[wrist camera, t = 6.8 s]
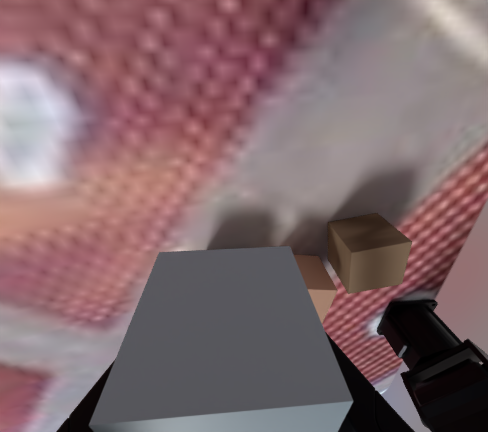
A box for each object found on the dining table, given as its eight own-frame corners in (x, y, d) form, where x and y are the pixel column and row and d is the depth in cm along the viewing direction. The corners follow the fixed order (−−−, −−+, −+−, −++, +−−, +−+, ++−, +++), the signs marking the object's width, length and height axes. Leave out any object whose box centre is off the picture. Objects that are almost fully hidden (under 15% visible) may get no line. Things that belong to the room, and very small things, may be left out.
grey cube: (289, 245, 9) (353, 401, 4) (280, 326, 11) (314, 475, 7) (159, 252, 8) (88, 425, 4) (179, 333, 11) (148, 494, 7)
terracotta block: (318, 255, 25) (337, 290, 21) (306, 287, 27) (321, 324, 23) (274, 252, 24) (285, 288, 20) (266, 285, 27) (274, 323, 22)
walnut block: (376, 212, 23) (412, 241, 18) (371, 250, 25) (401, 284, 21) (327, 221, 23) (351, 253, 18) (327, 258, 25) (348, 293, 21)
